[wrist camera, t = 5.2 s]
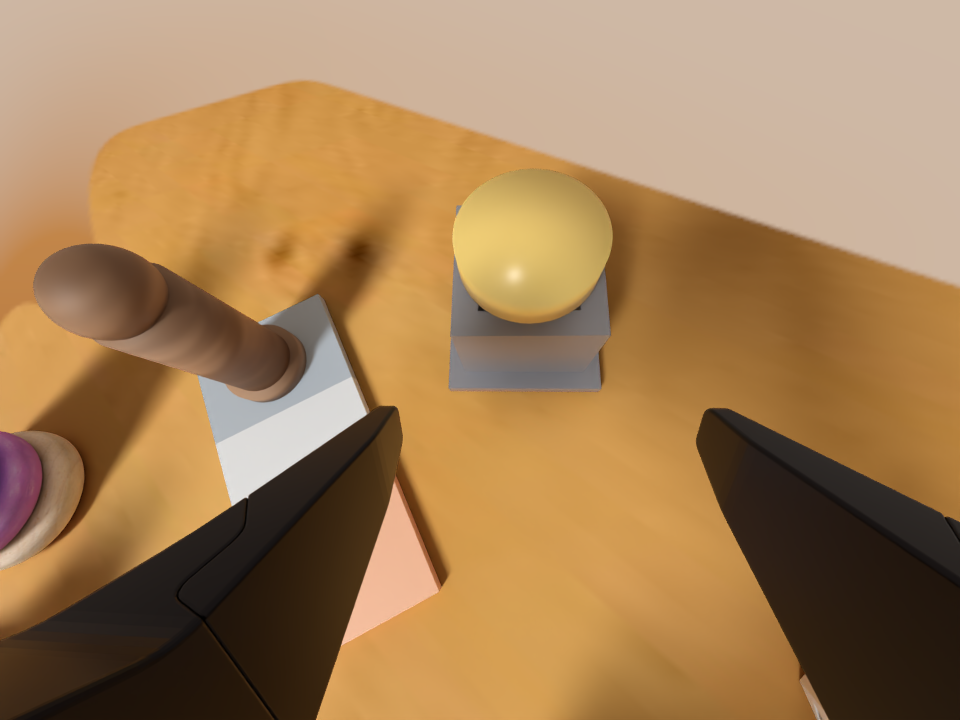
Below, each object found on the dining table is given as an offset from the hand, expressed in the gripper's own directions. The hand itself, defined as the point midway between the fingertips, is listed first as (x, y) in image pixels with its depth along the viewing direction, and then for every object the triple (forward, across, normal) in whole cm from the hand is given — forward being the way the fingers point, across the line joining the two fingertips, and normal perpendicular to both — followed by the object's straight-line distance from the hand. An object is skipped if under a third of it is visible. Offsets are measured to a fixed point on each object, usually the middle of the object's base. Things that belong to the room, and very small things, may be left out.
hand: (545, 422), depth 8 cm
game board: (+9, +13, +10) cm, 19 cm away
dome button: (+14, 0, +2) cm, 14 cm away
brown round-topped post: (+13, +16, +6) cm, 21 cm away
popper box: (+15, 0, +4) cm, 16 cm away
